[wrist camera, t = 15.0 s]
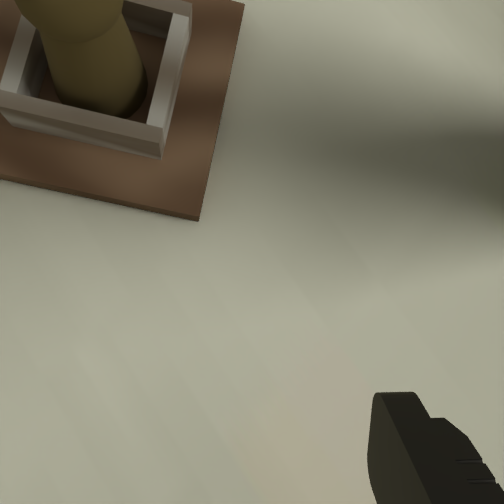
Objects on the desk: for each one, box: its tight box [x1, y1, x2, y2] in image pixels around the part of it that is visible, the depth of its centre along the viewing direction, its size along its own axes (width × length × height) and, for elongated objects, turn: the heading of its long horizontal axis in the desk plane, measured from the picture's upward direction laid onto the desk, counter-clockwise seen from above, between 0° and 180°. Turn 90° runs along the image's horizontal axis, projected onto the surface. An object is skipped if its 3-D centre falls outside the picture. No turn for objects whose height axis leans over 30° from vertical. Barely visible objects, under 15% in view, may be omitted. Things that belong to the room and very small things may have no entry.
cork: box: [14, 0, 148, 119], centre depth 26 cm, size 6×6×11 cm
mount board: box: [0, 0, 245, 221], centre depth 30 cm, size 16×16×4 cm
